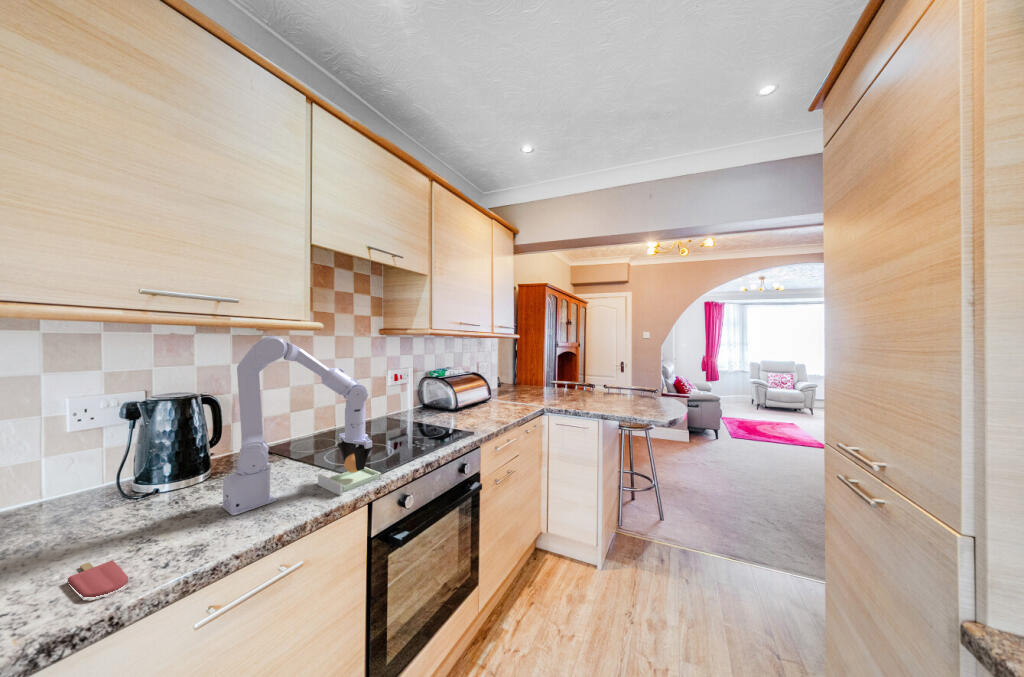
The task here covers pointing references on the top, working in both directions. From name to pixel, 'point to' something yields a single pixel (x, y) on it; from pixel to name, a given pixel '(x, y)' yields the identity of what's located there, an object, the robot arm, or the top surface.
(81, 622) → the top surface
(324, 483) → the acrylic wall
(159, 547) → the top surface
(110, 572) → the popsicle
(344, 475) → the tray
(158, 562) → the top surface
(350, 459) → the ball
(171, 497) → the top surface
